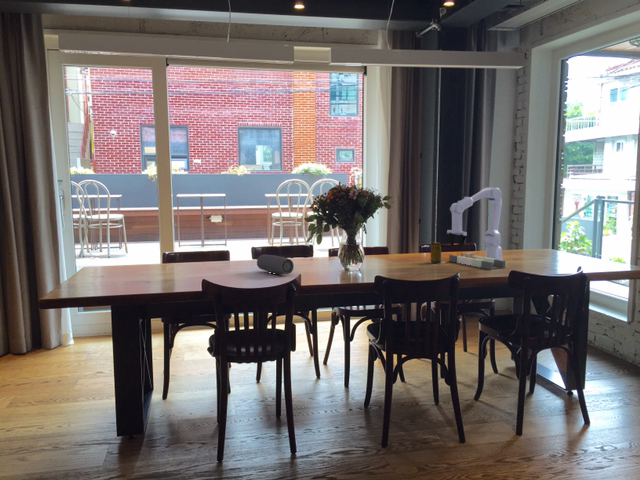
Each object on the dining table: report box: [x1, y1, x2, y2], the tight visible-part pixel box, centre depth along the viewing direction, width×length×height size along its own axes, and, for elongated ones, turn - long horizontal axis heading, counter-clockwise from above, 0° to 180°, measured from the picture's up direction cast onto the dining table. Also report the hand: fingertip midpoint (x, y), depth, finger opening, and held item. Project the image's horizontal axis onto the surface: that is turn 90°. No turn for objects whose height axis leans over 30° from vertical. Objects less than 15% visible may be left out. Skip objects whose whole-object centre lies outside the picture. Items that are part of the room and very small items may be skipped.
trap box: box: [448, 252, 506, 271], centre depth 315 cm, size 11×34×4 cm, turn 27°
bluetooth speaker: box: [256, 254, 294, 275], centre depth 295 cm, size 23×9×10 cm, turn 42°
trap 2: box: [492, 266, 504, 270], centre depth 304 cm, size 8×7×1 cm
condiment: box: [428, 241, 447, 265], centre depth 323 cm, size 7×8×12 cm
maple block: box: [462, 251, 476, 259], centre depth 320 cm, size 5×5×4 cm
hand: (456, 246), depth 318 cm, fingers open, 7 cm apart
